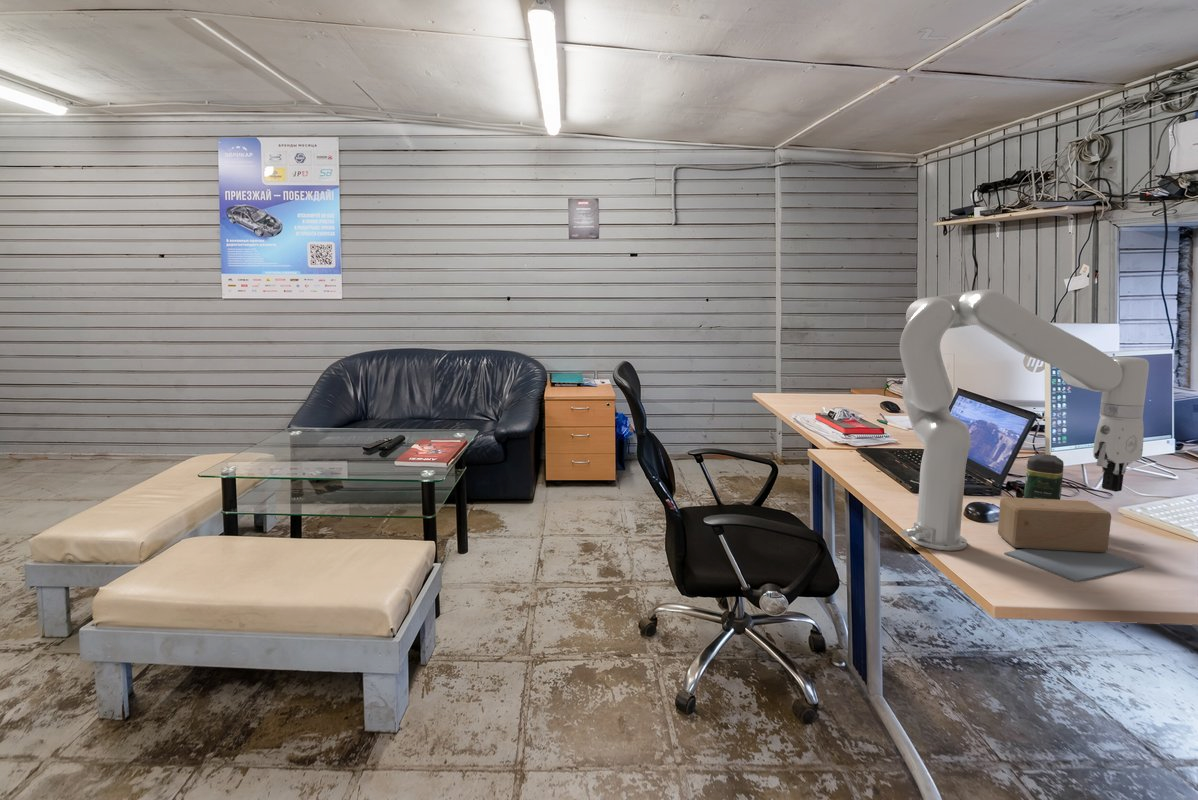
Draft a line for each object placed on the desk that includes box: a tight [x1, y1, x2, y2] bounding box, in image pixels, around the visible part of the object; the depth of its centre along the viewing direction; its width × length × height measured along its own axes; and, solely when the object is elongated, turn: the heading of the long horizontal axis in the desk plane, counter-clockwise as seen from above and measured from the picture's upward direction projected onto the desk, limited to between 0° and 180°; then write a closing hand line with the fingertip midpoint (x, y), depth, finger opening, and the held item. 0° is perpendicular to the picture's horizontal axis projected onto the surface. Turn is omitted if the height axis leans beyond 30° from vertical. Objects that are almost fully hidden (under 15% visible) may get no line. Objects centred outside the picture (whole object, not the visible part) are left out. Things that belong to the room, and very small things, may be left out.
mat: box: [1004, 548, 1145, 583], centre depth 142 cm, size 22×16×1 cm
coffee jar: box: [1023, 453, 1064, 500], centre depth 164 cm, size 10×8×19 cm
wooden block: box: [997, 496, 1112, 553], centre depth 150 cm, size 10×10×20 cm
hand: (1111, 489), depth 143 cm, fingers closed
